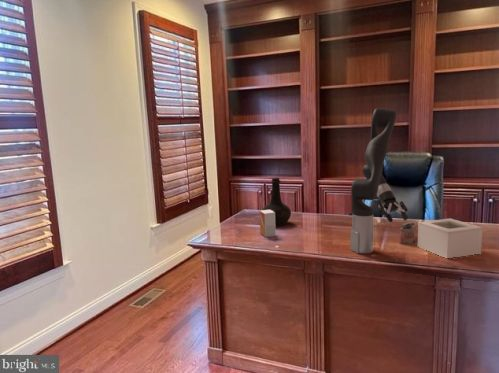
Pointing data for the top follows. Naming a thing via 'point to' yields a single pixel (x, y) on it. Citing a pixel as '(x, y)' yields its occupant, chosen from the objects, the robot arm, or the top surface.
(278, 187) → the glass bottle
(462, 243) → the slot box
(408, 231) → the lighter
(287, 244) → the top surface
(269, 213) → the small box
